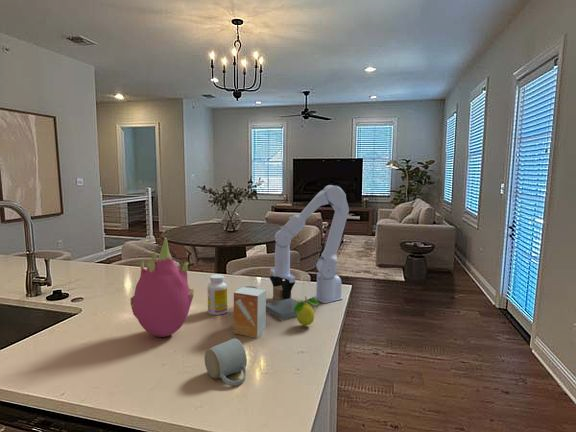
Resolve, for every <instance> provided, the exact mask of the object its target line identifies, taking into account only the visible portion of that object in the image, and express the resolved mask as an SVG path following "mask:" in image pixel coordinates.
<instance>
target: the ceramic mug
mask: <svg viewBox="0 0 576 432" xmlns="http://www.w3.org/2000/svg"><path fill="white" fill-rule="evenodd" d="M245 349H246V348H245V347H244V345H243V344H242V342H241V341H240V340H239V339H238V338H231V339H229V340H227V341H226V340H225V342H221V343H219V344H216V345H215V346H214V345H213V346H212V347H210V348H208V349H207V350H206V352H205V354H204V365H205V369H206V372H207V373H208V375H209V377H211V378H212V379H215V380H216V379H221V380H222V381H223V383H225V384H226V385H228V386H232V387H235V386H237V387H238V386H239V385H242V384H243V383H244V382H245V380H246V376H247V369H246V367H247V361H248V359H247V353H246V350H245ZM241 371H242V373H243V375H242V378H241V379H239V380H231V379H229V378H227V376H229V375H233V374H236V373H239V372H241Z"/></svg>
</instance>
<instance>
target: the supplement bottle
mask: <svg viewBox="0 0 576 432" xmlns="http://www.w3.org/2000/svg"><path fill="white" fill-rule="evenodd" d="M209 278H210V279H209V280H210V282H209V283H208V284H207V313H208V314H210V315H213V316H221V315H224V314H226V313H227V312H228V284H227V283H226V282H224V280H225V276H224V275H223V274H212V275H210V277H209Z"/></svg>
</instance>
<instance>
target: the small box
mask: <svg viewBox="0 0 576 432" xmlns="http://www.w3.org/2000/svg"><path fill="white" fill-rule="evenodd" d="M257 288H258V287H257ZM257 288H248V287H246V286H241V287H240V288H239V289H237V290H235V291H234V292H233V334H236V335H242V336H247V337H251V338H256V339H258V338H260V336H261V335H262V334H263V333H264V332H265V331H266V329H267V328H266V327H267V326H266V323H267V321H266V319H267V311H266V303H267V289H261V288H258V289H257Z"/></svg>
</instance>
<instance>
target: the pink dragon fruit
mask: <svg viewBox="0 0 576 432" xmlns="http://www.w3.org/2000/svg"><path fill="white" fill-rule="evenodd" d="M157 257H158V258H157ZM174 262H175V261H174V259H173V257H172V255H171V252H170V249H169V242H168V238H167V237H166V236H165V237H163V243H162V246H161V250H160V251H159V255H158V256H157V252H156V250H155V251H154V252H153V253H152V256H151V260H150V261H148V263H147V265H146V269H145V268H144V267H145V264H144V260H142V261H141V264H140V277H139V279H138V281H137V283H136V285H135V290H134V293H133V296H132V297H130V299H129V300H130V306H131V310H132V311H131V312H132V314H133V316H134V317H135V318H136V320H137V322H138V323H139V325H140V326H141V327H142V328H143V330H144V331H145V332H147V333H148V334H150V335H152V336H154V337H158V338H163V337H169V336H171V335H173V334H175V333H176V332H177V331H179V330H180V328H182V326H183V325H184V323H185V321H186V320H187V317H188V314H189V312H190V308H191V304H192V302H193V299H194V295H195V293H194V291H195V290H194V288H190V286H189V283H188V265H189V264H190V262H189V261H185V262H184V263H183V265H182V269H180V268H179V267H177V265H176V264H175V263H174Z"/></svg>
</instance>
